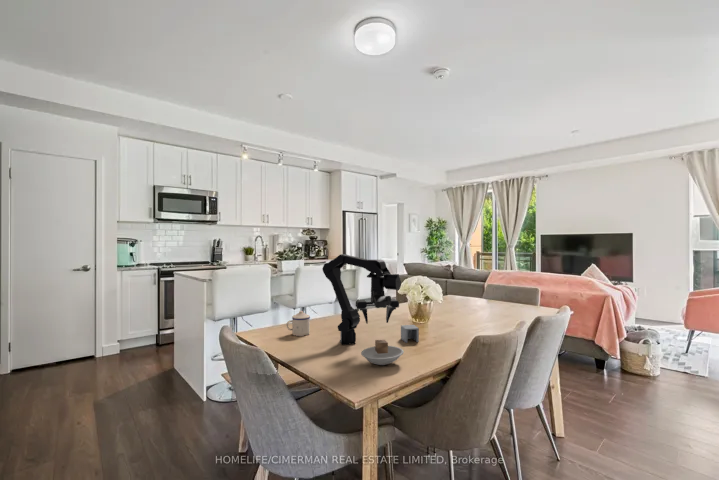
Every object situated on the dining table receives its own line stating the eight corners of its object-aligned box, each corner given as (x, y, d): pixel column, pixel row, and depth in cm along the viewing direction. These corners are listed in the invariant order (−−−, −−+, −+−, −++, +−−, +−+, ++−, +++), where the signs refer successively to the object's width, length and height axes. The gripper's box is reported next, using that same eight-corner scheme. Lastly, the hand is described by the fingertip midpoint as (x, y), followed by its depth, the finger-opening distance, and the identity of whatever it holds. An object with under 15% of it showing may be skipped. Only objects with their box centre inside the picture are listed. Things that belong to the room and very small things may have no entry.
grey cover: (405, 342, 162) (405, 328, 162) (400, 338, 169) (400, 325, 169) (418, 341, 164) (418, 328, 164) (413, 337, 170) (413, 324, 170)
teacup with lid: (307, 330, 182) (307, 308, 182) (312, 335, 174) (312, 312, 174) (284, 333, 178) (284, 310, 178) (288, 338, 169) (288, 314, 169)
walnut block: (377, 353, 132) (377, 343, 132) (375, 350, 136) (375, 340, 136) (387, 353, 133) (387, 342, 133) (384, 349, 137) (385, 339, 137)
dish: (375, 375, 124) (375, 361, 124) (353, 363, 136) (353, 350, 136) (412, 365, 133) (412, 352, 133) (388, 355, 145) (388, 343, 145)
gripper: (360, 291, 144) (359, 328, 144) (403, 290, 148) (402, 327, 148) (355, 287, 155) (355, 322, 155) (395, 286, 159) (395, 320, 159)
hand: (377, 323), depth 154 cm, fingers open, 9 cm apart
